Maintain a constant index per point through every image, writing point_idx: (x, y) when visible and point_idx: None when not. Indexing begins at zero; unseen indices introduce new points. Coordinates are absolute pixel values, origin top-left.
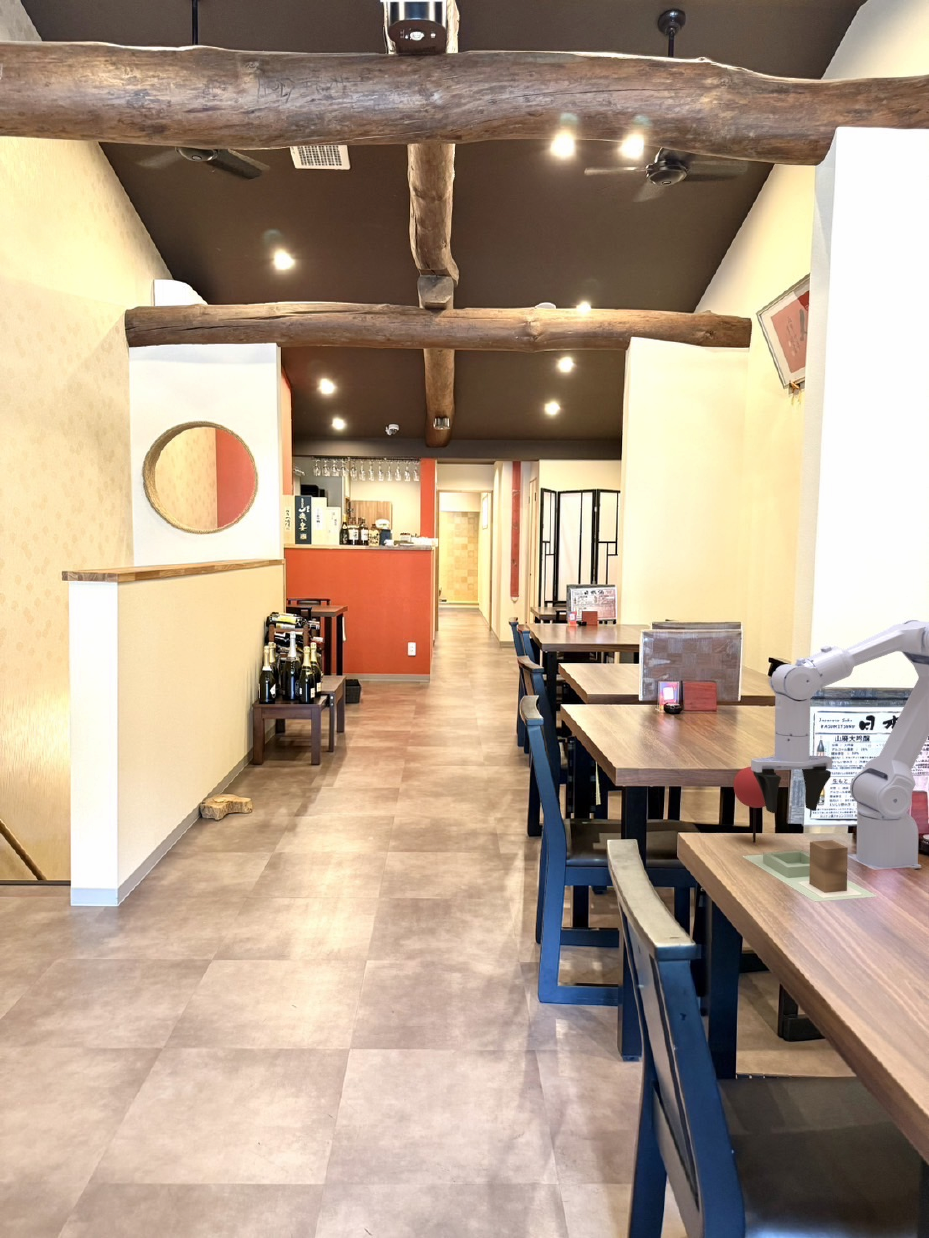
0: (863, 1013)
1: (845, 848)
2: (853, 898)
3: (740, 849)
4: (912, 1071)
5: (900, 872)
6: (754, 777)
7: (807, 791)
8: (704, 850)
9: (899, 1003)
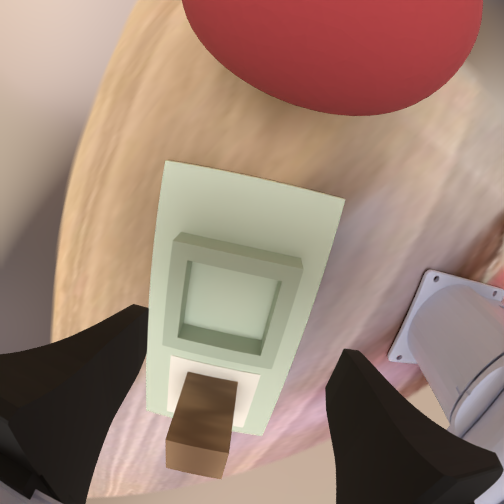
0: None
1: (215, 477)
2: None
3: (227, 84)
4: None
5: None
6: (245, 4)
7: (365, 410)
8: (128, 63)
9: (107, 490)
